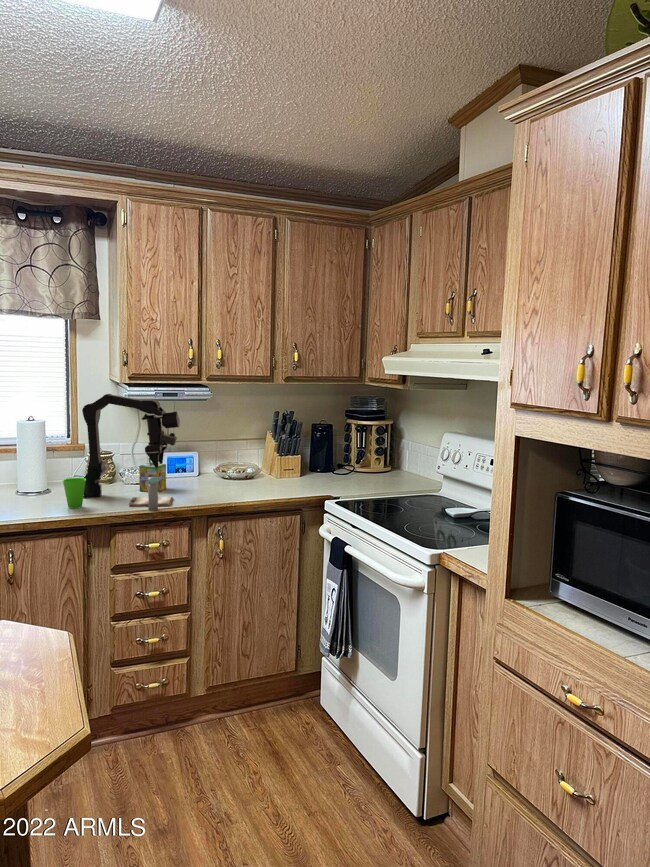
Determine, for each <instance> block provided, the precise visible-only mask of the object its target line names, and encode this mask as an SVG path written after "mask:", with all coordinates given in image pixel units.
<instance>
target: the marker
mask: <svg viewBox="0 0 650 867" xmlns="http://www.w3.org/2000/svg"><path fill="white" fill-rule="evenodd" d="M147 497H148V498H149V506H148V511H150V512H156V511H158V510H159V506H158V497H159V492H158V477H148V496H147Z"/></svg>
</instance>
